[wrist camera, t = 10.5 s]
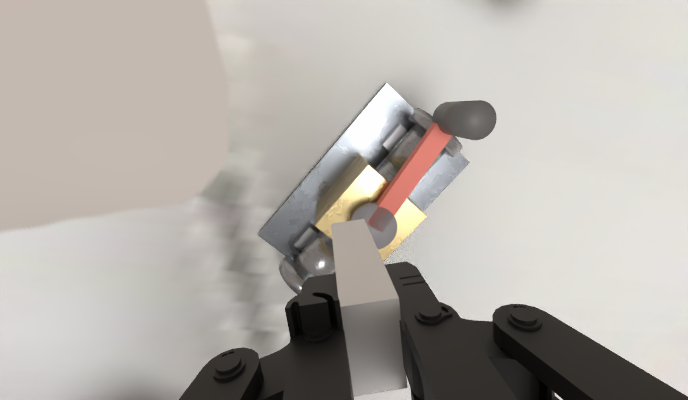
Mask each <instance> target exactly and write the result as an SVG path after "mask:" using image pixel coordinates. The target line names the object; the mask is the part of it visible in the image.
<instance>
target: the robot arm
mask: <svg viewBox="0 0 688 400" xmlns="http://www.w3.org/2000/svg"><path fill="white" fill-rule="evenodd" d="M331 232H332V242H333V252H334V261H335V271H336V273H333V274H327V275H320V276H313V277H308V278H307V280H306V281H305V282H304V283H303V285H302V290H301V294H299V295H297V296H295V297H294V298H292V299H291V300H290V301H289V302H288V303H287V305H286V307H285V311H286V317H287V322H288V327H289V332H290V337H291V338H290V343H289V344H288V345H287V346H285V347H284V348H283V349H281V350H279V351H277V352H275V353H273V354H270V355H268V356H265V357H263V358H260V359H259V356H258V353H256V352H255V351H254V350H252V349H248V348H236V349H231V350H228V351H226V352H223V353H221V354H219V355H218V356H216V357H214V358H213V359H211V360H210V361H209V362H208V363H207V364H206V365H205V366H204V367H203V369H202V370H201V371H200V372H199V374H198V375H197V376H196V378H195V379H194V380H193V382H192V383H191V384H190V386H189V387H188V388H187V390H186V391H185V392H184V394H183V395H182V396H181V398H180V399H179V400H354V398H353V396H359V395H365V394H372V393H378V392H384V391H390V390H396V389H402V388H407V379H406V375H407V378H408V381H409V384H410V387H411V398H412V400H559V399H558V398H557V397H556V396H555V393H556V394H557V395H558V396H560V397H561V398H562V399H563V400H688V397H687V396H686V395H684V394H682V393H681V392H679V391H677V390H676V389H674V388H672V387H671V386H669V385H667V384H666V383H664V382H662V381H661V380H659V379H657V378H655V377H654V376H652V375H650V374H649V373H647V372H645V371H644V370H642V369H640V368H639V367H637V366H635V365H634V364H632V363H630V362H629V361H627V360H625V359H624V358H622V357H620V356H619V355H617V354H615V353H614V352H612V351H610V350H609V349H607V348H605V347H604V346H602V345H600V344H599V343H597V342H595V341H594V340H592V339H590V338H588V337H587V336H585V335H583V334H582V333H580V332H578V331H577V330H575V329H573V328H572V327H570V326H568V325H567V324H565V323H563V322H562V321H560V320H558V319H557V318H555V317H553V316H552V315H550V314H548V313H547V312H545V311H542V310H540V309H538V308H536V307H532V306H527V305H523V304H510V305H505V306H501V307H500V308H498V309H496V310H495V312H494V314H493V322H489V321H474V320H466V319H462V318H460V316H459V315H458V314H457V312H456V311H455V310H454V309H453V308H452V307H450V306H448V305H446V304H444V303H441V302H439V301H438V300H437V298H436V297H435V295H434V294H433V292H432V290H431V289H430V287H429V286H428V284H427V283H426V282H425V280H424V278H423V277H422V276H421V273H420V272H419V270H418V269H417V267H415V266H414V265H412V264H410V263H408V262H400V263H394V264H387V265H384V263H383V260H382V258H381V256H380V254H379V251H378V249H377V247H376V244H375V242H374V240H373V238H372V235H371V233H370V231H369V228H368V226H367V224H366V222H365V219H359V220H352V221H345V222H338V223H331Z"/></svg>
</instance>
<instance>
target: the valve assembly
mask: <svg viewBox="0 0 688 400" xmlns="http://www.w3.org/2000/svg"><path fill="white" fill-rule="evenodd" d="M432 123H433V116H431V115H430V114H428V113H427V112H425V111H423V110H421V109H418V108H417V109H416V110H415V109H414V108H412V107H411V106H410V105H409V104H408V103H407V102H406V101H405V100H404V99H403V98H402V97H401V96H400V95H399V94H398V93H397V92H396V91H395V90H394V89H393V88H392V87H391V86H390V85H389V84H388V83H385V85H384V86H383V87H382V88H381V89H380V91H379V92H378V93H377V94H376V95H375V96H374V98H373V99H372V100H371V101H370V102H369V103H368V105H367V106H366V107H365V108H364V109H363V111H362V112H361V113H360V114H359V115H358V116H357V118H356V119H355V120H354V121H353V122H352V124H351V125H350V126H349V127H348V128H347V129H346V131H345V132H344V133H343V134H342V135H341V136H340V138H339V139H338V140H337V141H336V142H335V144H334V145H333V146H332V147H331V148H330V149H329V151H328V152H327V153H326V154H325V155H324V156H323V158H322V159H321V160H320V161H319V162H318V164H317V165H316V166H315V167H314V168H313V169H312V171H311V172H310V173H309V174H308V175H307V177H306V178H305V179H304V180H303V181H302V182H301V184H300V185H299V186H298V187H297V188H296V189H295V191H294V192H293V193H292V194H291V195H290V197H289V198H288V199H287V200H286V201H285V202H284V204H283V205H282V206H281V207H280V208H279V209H278V211H277V212H276V213H275V214H274V215H273V217H272V218H271V219H270V220H269V221H268V222H267V224H266V225H265V226H264V227H263V228H262V230H261V231H260V232H259V233H258V236H260V237H261V238H262V239H264V240H265V241H266V242H268V243H269V244H271V245H272V246H273V247H275V248H276V249H277V250H279V251H280V252H281V253H283V254H284V255H285V256H286V257H285V258H284V259H283V260H282V262H281V263H280V265H279V270H280V274H281V276H282V278H283V279H284V281H285V282H286V283H287V285H288V286H289V287H290V288H291V289H292V290H293V291H294V292H295V293H297V294H298V295H299V294H301V290H302V285H303V283H304V282H305V281H306V280H307V278H308V277H313V276H320V275H327V274H333V273H336V271H335V261H334V252H333V242H332V232H331V223H338V222H345V221H350V220H351V217H352V215H353V213H354V212H355V210H356V209H357V208H359V207H360V206H362V205H364V204H366V203H371V202H375V203H377V201H378V200H379V199H380V197H381V196H382V194H383V193H384V191H385V190H386V189H387V187H388V186H389V184H390V183H391V182H392V180H393V179H394V177H395V176H396V174H397V173H398V172H399V170H400V169H401V167H402V166H403V164H404V163H405V162H406V160H407V159H408V157H409V156H410V155H411V153H412V152H413V150H414V149H415V147H416V146H417V145H418V143H419V142H420V140H421V139H422V137H423V136H424V135H425V133H426V132H427V130H428V129H429V128H430V126H431V125H432ZM461 149H462V145H461V143H460V142H459V141H458V139H457V138H456V137H455V136H452V137H451V139H450V140H449V141H448V143H447V144H446V145H445V147H444V148H443V150H442V151H441V152H440V154H439V155H438V156H437V158H436V159H435V161H434V162H433V163H432V165H431V166H430V168H429V169H428V170H427V172H426V173H425V174H424V176H423V177H422V179H421V180H420V181H419V183H418V184H417V185H416V187H415V188H414V190H413V191H412V192H411V194H410V195H409V197H408V198H407V199H406V201H405V202H404V203H403V205H402V206H401V208H400V209H399V210H398V212H397V213H396V214H395V216H394V217H395V218H396V221H397V233H396V236H395V238H394V239H393V241H392V242H391V243H390V244H389V245H387V246H386V247H384V248H381V249H378V251H379V254H380V256H381V258H382V260H383V262H384V261H385V260H386V259H387V257H388V256H389V255H390V254H391V253H392V252H393V251H394V250H395V249H396V248H397V247H398V246H399V245H400V244H401V243H402V242H403V241H404V240H405V239H406V238H407V237H408V236H409V235H410V233H411V232H412V231H413V230H414V229H415V228H416V227H417V226H418V225H419V224H420V223H421V222H422V221H423V220H424V219H425V218H426V217H427V216H426V215H425V214H424V213H423V211H424V210H425V209H426V208H427V207H428V206H429V205H430V204H431V203H432V202H433V201H434V199H435V198H436V197H437V196H438V195H439V194H440V193H441V192H442V191H443V190H444V189H445V188H446V187H447V186H448V185H449V184H450V183H451V182H452V181H453V179H454V178H455V177H456V176H457V175H458V174H459V173H460V172H461V171H462V170H463V169H464V168H465V167H466V166H467V165H468V164H469V163H470V162H469V161H468V160H467V159H465V158H464V157H463V156H462V155H461V154H460V153H459V151H460V150H461Z"/></svg>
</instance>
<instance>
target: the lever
mask: <svg viewBox="0 0 688 400" xmlns="http://www.w3.org/2000/svg"><path fill="white" fill-rule="evenodd" d="M495 124H496V113H495V110H494V108H493V107H492V106H491V105H490V104H489V103H488V102H485V101H459V102H446V103H443V104H441V105H439V106H438V107H437V108H436V110H435V111H434V114H433V123H432V125H431V126H430V128H429V129H428V130H427V132H426V133H425V135H424V136H423V137H422V139H421V140H420V142H419V143H418V145H417V146H416V147H415V149H414V150H413V152H412V153H411V155H410V156H409V157H408V159H407V160H406V162H405V163H404V164H403V166H402V167H401V169H400V170H399V172H398V173H397V174H396V176H395V177H394V179H393V180H392V182H391V183H390V184H389V186H388V187H387V189H386V190H385V191H384V193H383V194H382V196H381V197H380V199H379V200H378V201H377V203H375V202H371V203H366V204H364V205H362V206H360V207H359V208H357V209H356V210H355V212H354V213H353V215H352V217H351V220H350V221H352V220H359V219H365V222H366V224H367V226H368V228H369V231H370V233H371V235H372V238H373V240H374V242H375V244H376V247H377V249H381V248H384V247H386V246H387V245H389V244H390V243H391V242H392V241H393V239H394V238H395V236H396V233H397V221H396V218H395V217H394V216H395V214H396V213H397V212H398V210H399V209H400V208H401V206H402V205H403V203H404V202H405V201H406V199H407V198H408V197H409V195H410V194H411V192H412V191H413V190H414V188H415V187H416V185H417V184H418V183H419V181H420V180H421V179H422V177H423V176H424V174H425V173H426V172H427V170H428V169H429V168H430V166H431V165H432V163H433V162H434V161H435V159H436V158H437V156H438V155H439V154H440V152H441V151H442V150H443V148H444V147H445V145H446V144H447V143H448V141H449V140H450V139H451V137H452V136H457V137H462V138H466V139H471V140H480V139H483V138H485V137H486V136H488V135H489V134H490V133H491V132H492V130H493V129H494V127H495Z"/></svg>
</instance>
